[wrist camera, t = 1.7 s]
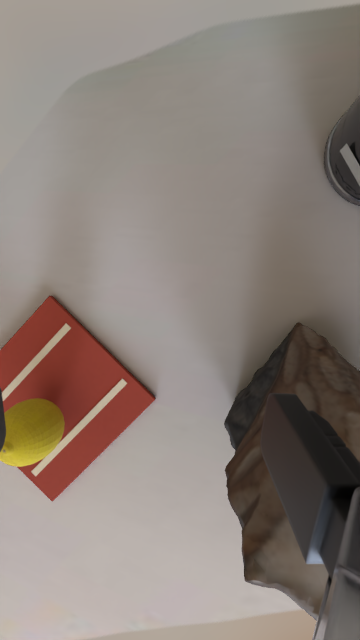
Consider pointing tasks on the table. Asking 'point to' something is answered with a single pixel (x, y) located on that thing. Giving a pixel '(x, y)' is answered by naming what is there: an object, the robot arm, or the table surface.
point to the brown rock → (252, 473)
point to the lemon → (31, 431)
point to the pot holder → (69, 391)
